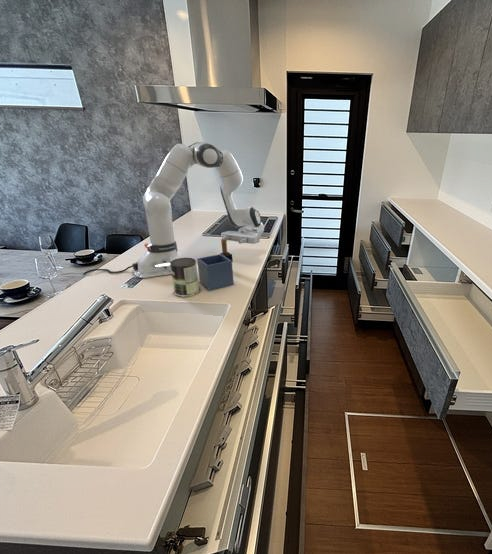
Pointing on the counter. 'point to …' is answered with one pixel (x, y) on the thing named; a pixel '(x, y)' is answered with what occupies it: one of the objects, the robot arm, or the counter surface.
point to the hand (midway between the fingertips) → (231, 240)
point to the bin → (215, 271)
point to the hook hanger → (225, 250)
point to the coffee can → (184, 276)
